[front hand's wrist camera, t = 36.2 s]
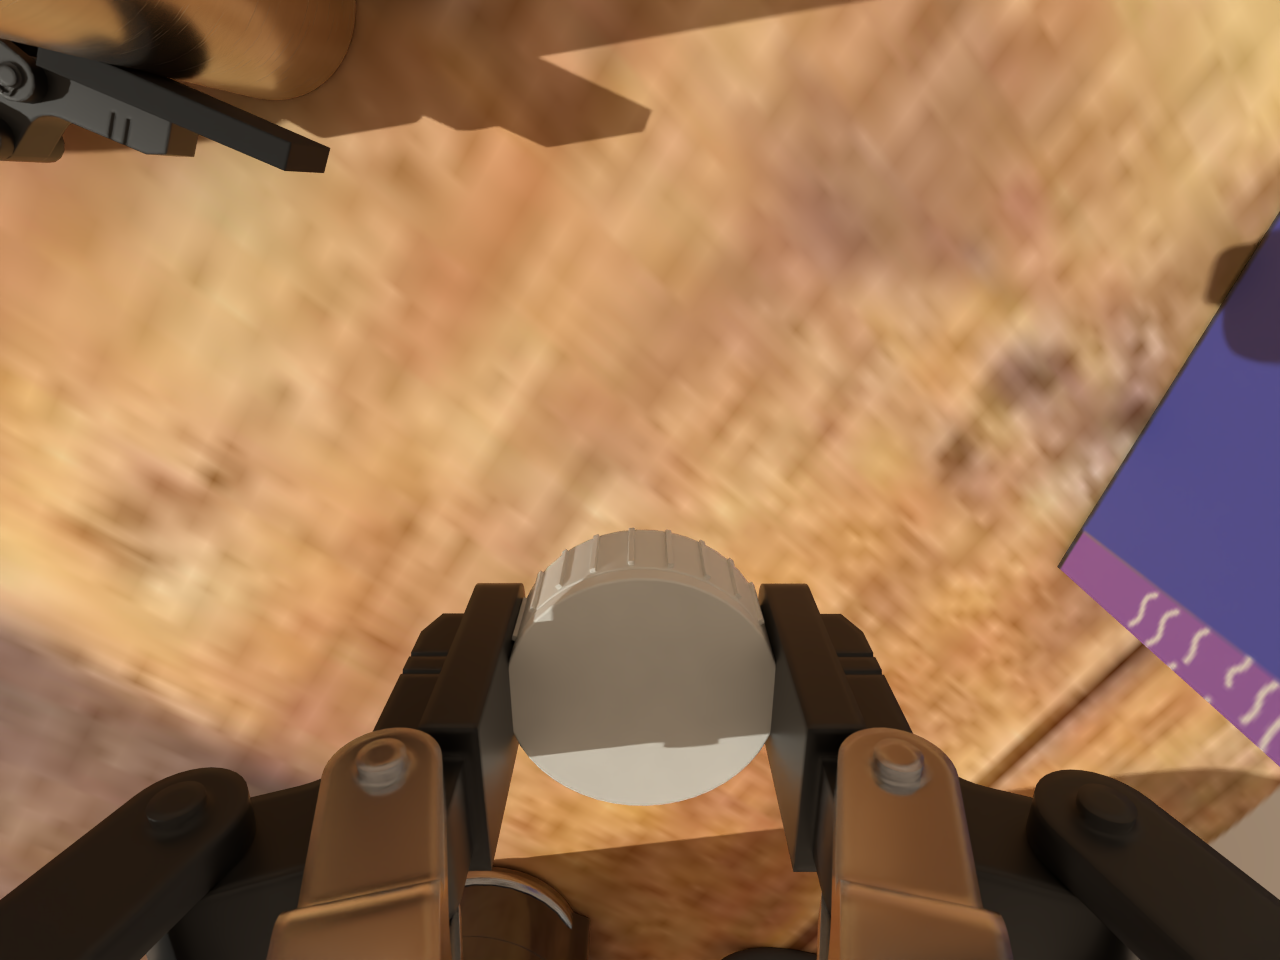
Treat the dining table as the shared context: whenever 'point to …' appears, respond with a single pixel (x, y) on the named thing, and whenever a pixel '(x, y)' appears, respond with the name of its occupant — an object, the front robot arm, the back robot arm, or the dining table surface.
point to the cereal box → (1205, 514)
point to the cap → (641, 669)
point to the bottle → (196, 39)
